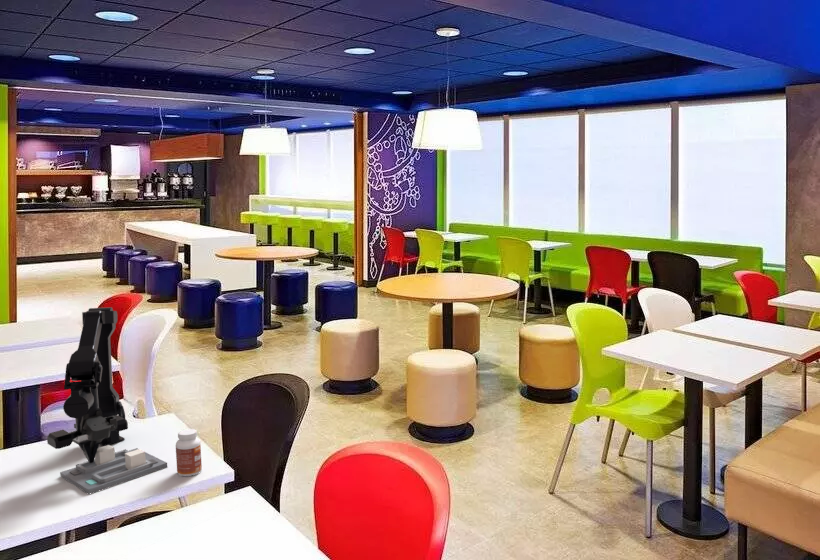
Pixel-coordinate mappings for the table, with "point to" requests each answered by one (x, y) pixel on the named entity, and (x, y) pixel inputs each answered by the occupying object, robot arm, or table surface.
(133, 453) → the tab
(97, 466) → the switch board
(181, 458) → the pill bottle
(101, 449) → the tab
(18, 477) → the table surface
